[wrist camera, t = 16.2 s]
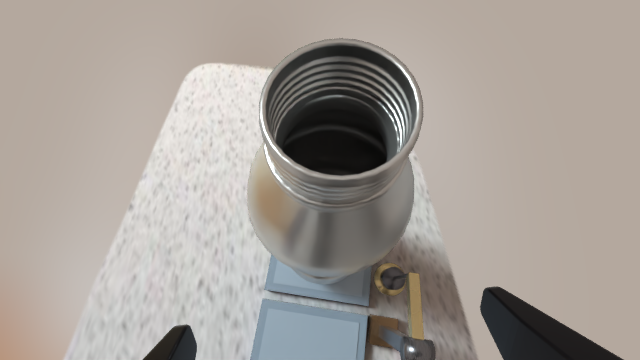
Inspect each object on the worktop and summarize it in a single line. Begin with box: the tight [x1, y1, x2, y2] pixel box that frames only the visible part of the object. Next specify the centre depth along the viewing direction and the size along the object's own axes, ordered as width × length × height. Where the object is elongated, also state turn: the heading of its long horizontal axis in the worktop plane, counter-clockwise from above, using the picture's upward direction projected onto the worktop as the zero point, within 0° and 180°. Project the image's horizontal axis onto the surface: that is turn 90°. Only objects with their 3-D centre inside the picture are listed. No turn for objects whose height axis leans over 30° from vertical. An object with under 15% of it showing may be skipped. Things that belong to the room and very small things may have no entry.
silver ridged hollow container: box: [247, 38, 423, 285], centre depth 16 cm, size 6×7×20 cm
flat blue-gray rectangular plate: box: [264, 254, 372, 306], centre depth 25 cm, size 9×8×1 cm
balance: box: [368, 263, 435, 360], centre depth 19 cm, size 10×2×10 cm, turn 172°
